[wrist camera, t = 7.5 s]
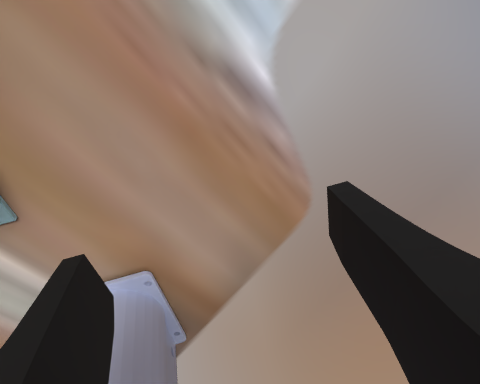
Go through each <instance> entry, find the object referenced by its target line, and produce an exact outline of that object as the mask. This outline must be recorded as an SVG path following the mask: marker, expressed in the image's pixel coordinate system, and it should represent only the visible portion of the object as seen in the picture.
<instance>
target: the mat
mask: <svg viewBox="0 0 480 384" xmlns="http://www.w3.org/2000/svg"><path fill="white" fill-rule="evenodd" d="M16 219H17V216H16V214H15V213H14V212H13V211H12V210H11V208H10V207H9V206H8V205H7V203H6V202H5V201H4V200H3V198H2V197H1V196H0V225H1V224H4V223H8V222H12V221H15V220H16Z"/></svg>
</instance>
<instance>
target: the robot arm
mask: <svg viewBox="0 0 480 384" xmlns="http://www.w3.org/2000/svg"><path fill="white" fill-rule="evenodd" d="M327 195H328V196H327V197H328V218H329V236H330V238H331V240H332V243H333V245H334V247H335V249H336V252H337V254H338V256H339V258H340V260H341V263H342V265H343V266H344V268H345V270H346V271H347V273H348V275H349V276H350V278H351V280H352V281H353V283H354V285H355V286H356V288H357V290H358V291H359V293H360V294H361V296H362V298H363V299H364V301H365V303H366V304H367V306H368V307H369V309H370V311H371V312H372V314H373V315H374V317H375V319H376V320H377V322H378V324H379V325H380V327H381V328H382V330H383V332H384V334H385V336H386V337H387V339H388V341H389V343H390V345H391V347H392V349H393V351H394V353H395V355H396V357H397V359H398V361H399V363H400V365H401V367H402V369H403V371H404V373H405V375H406V377H407V380H408V382H409V384H480V259H479V258H477V257H475V256H473V255H471V254H469V253H466V252H464V251H462V250H460V249H458V248H456V247H454V246H452V245H450V244H448V243H446V242H445V241H443V240H441V239H439V238H437V237H435V236H434V235H432V234H430V233H428V232H426V231H425V230H423V229H421V228H419V227H418V226H416V225H414V224H413V223H411V222H409V221H408V220H406V219H405V218H403V217H401V216H400V215H398V214H396V213H395V212H393V211H392V210H390V209H389V208H387V207H385V206H384V205H382V204H381V203H379V202H378V201H376V200H375V199H373V198H372V197H370V196H369V195H367V194H366V193H364V192H363V191H361V190H360V189H358V188H357V187H355V186H354V185H352V184H351V183H349V182H348V181H346V182H342V183H339V184H335V185H332V186H328V187H327ZM147 281H149V282H147ZM185 340H186V334H185V332H184V330H183V328H182V327H181V325H180V323H179V321H178V319H177V318H176V316H175V314H174V312H173V310H172V308H171V307H170V305H169V303H168V301H167V299H166V298H165V296H164V294H163V292H162V290H161V289H160V287H159V285H158V283H157V281H156V279H155V278H154V276H153V274H152V273H151V272H149V271H143V272H139V273H135V274H132V275H128V276H125V277H121V278H118V279H114V280H110V281H107V282H103V280H102V279H101V277H100V276H99V275H98V273H97V272H96V270H95V269H94V267H93V266H92V265H91V263H90V262H89V260H88V259H87V258H86V256H85V255H84V254H82V255H78V256H75V257H71V258H68V259H64V260H62V262H61V263H60V265H59V266H58V267H57V269H56V270H55V272H54V273H53V274H52V276H51V277H50V279H49V280H48V282H47V283H46V285H45V286H44V288H43V289H42V291H41V292H40V294H39V295H38V297H37V298H36V300H35V301H34V303H33V304H32V306H31V307H30V308H29V310H28V311H27V313H26V314H25V316H24V317H23V319H22V320H21V321H20V323H19V324H18V326H17V327H16V329H15V330H14V332H13V333H12V334H11V336H10V337H9V338H8V340H7V341H6V342H5V344H4V345H3V346H2V348H1V349H0V384H177V365H176V345H175V344H178V343H182V342H184V341H185Z"/></svg>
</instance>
